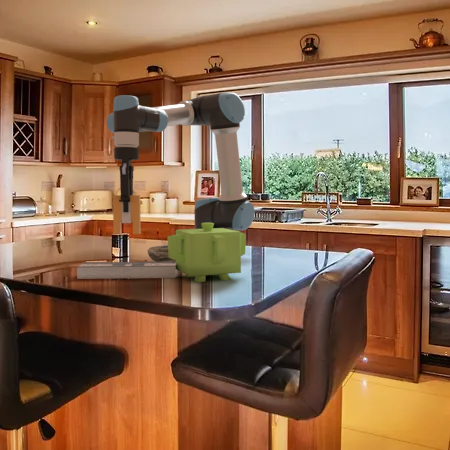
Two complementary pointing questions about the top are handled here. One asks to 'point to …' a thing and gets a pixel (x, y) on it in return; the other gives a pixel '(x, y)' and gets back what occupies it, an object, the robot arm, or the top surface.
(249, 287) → the top surface
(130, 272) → the rail
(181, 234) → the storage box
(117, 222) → the tall orange block
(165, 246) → the stone
